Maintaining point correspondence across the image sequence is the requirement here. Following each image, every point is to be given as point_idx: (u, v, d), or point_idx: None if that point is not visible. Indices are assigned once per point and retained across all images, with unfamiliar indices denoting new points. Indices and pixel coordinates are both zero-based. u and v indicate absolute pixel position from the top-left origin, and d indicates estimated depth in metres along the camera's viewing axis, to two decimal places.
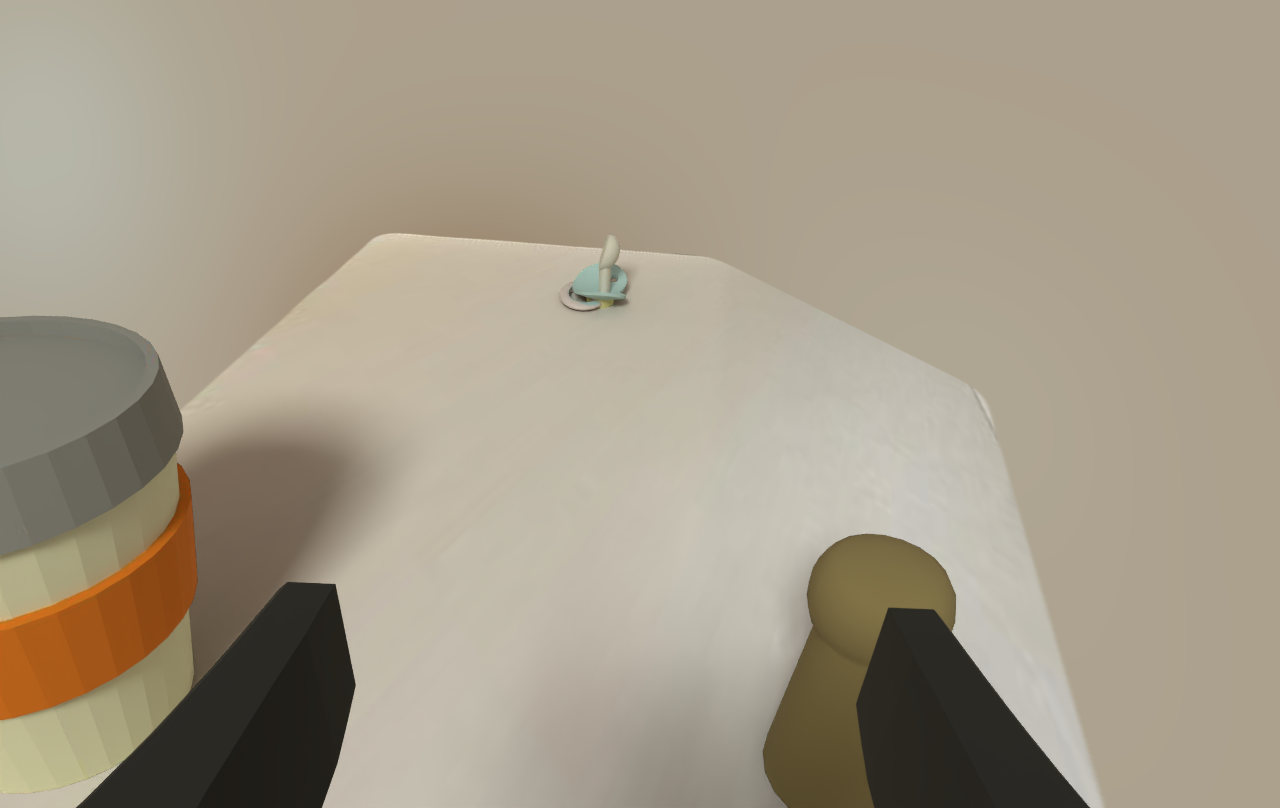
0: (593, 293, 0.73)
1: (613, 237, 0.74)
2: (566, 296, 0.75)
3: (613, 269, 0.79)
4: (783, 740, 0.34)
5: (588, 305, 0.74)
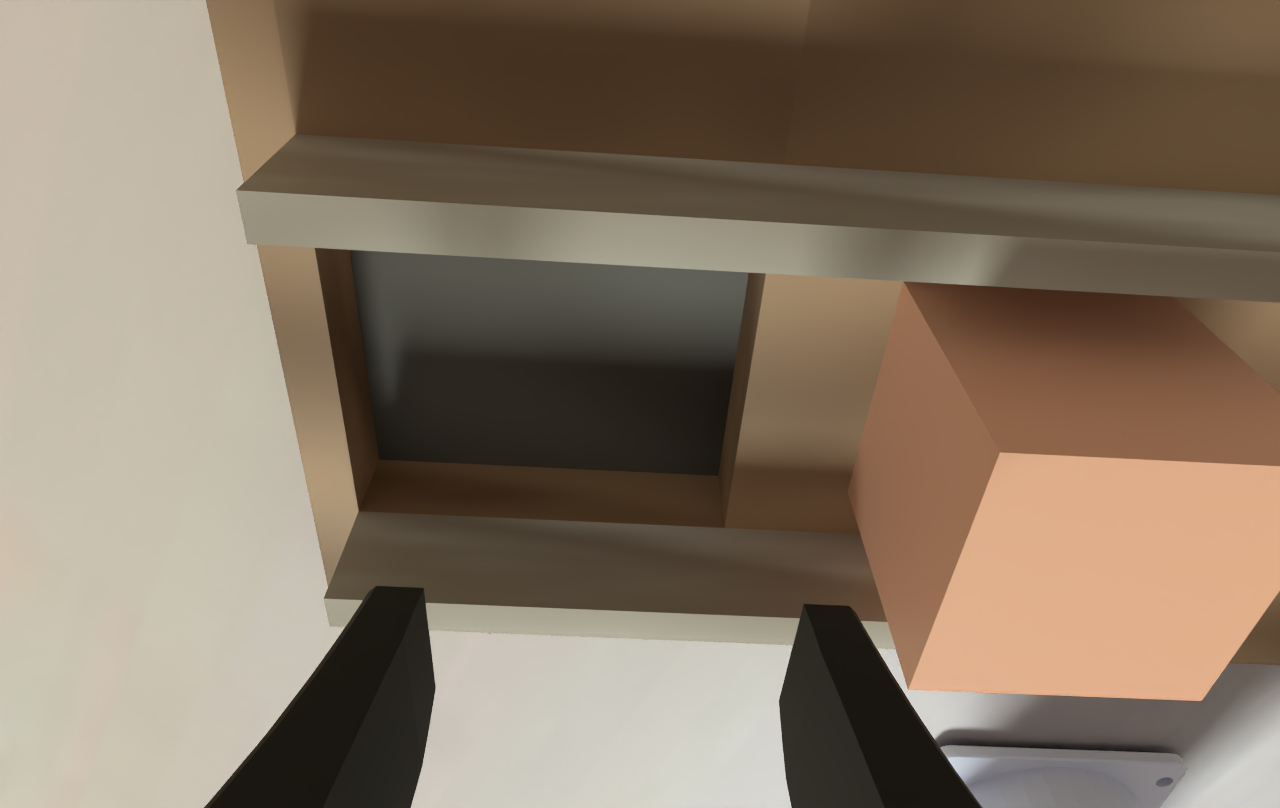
0: None
1: None
2: None
3: None
4: None
5: None
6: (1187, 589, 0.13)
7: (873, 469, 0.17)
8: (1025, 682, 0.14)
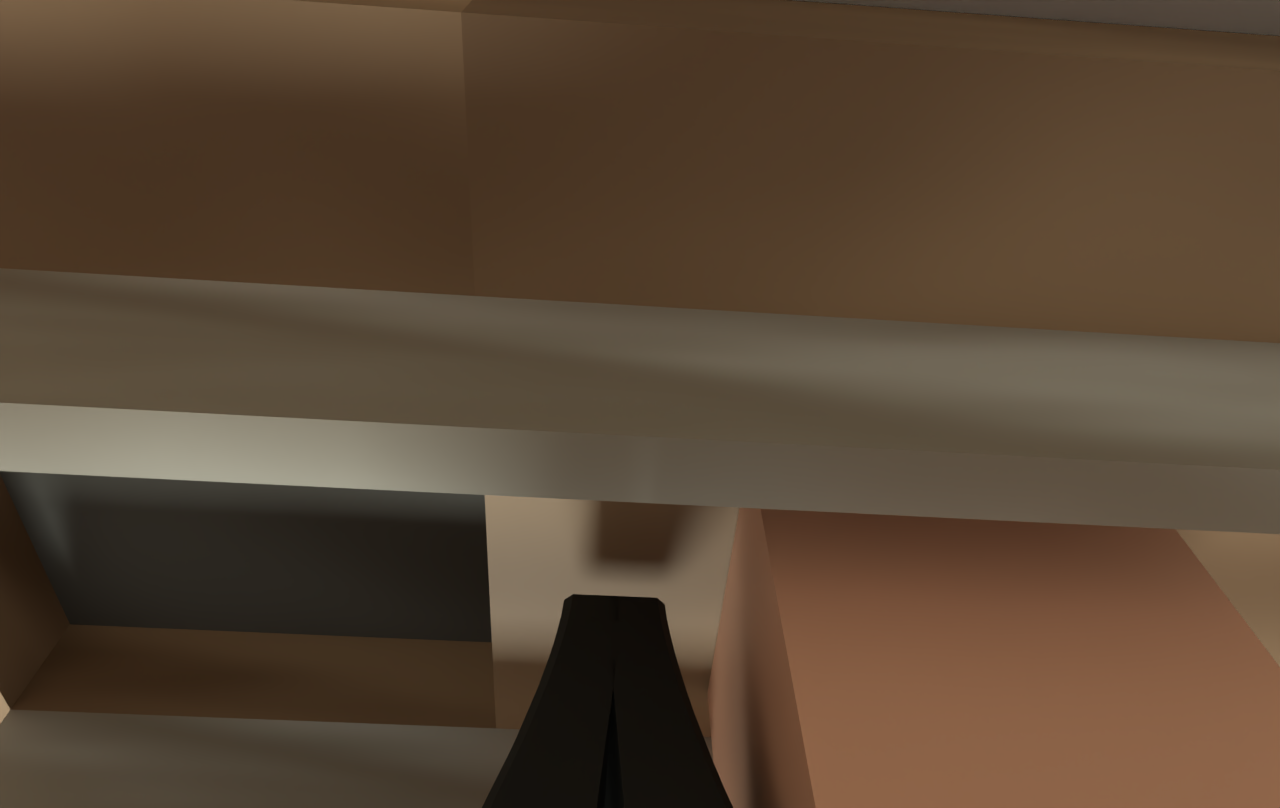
0: None
1: None
2: None
3: None
4: None
5: None
6: None
7: (723, 689, 0.12)
8: None
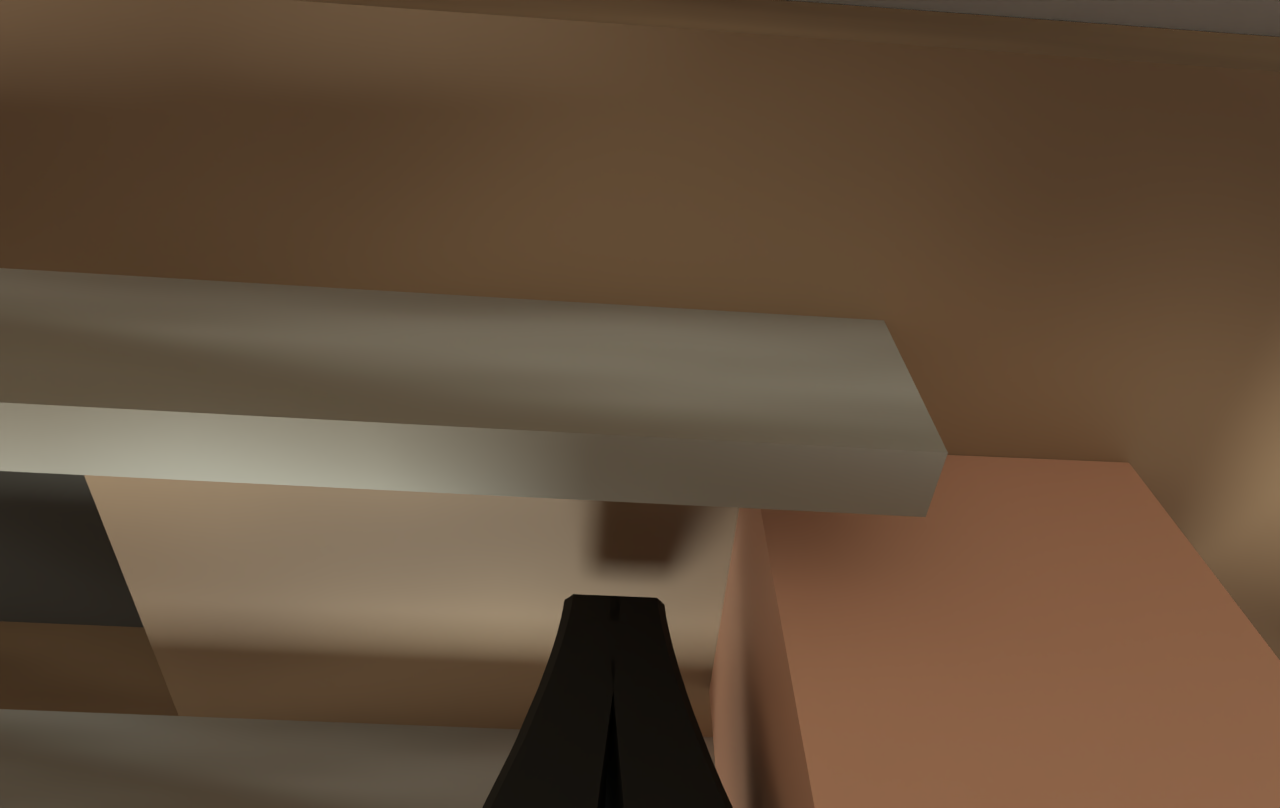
0: None
1: None
2: None
3: None
4: None
5: None
6: None
7: (724, 687, 0.12)
8: None
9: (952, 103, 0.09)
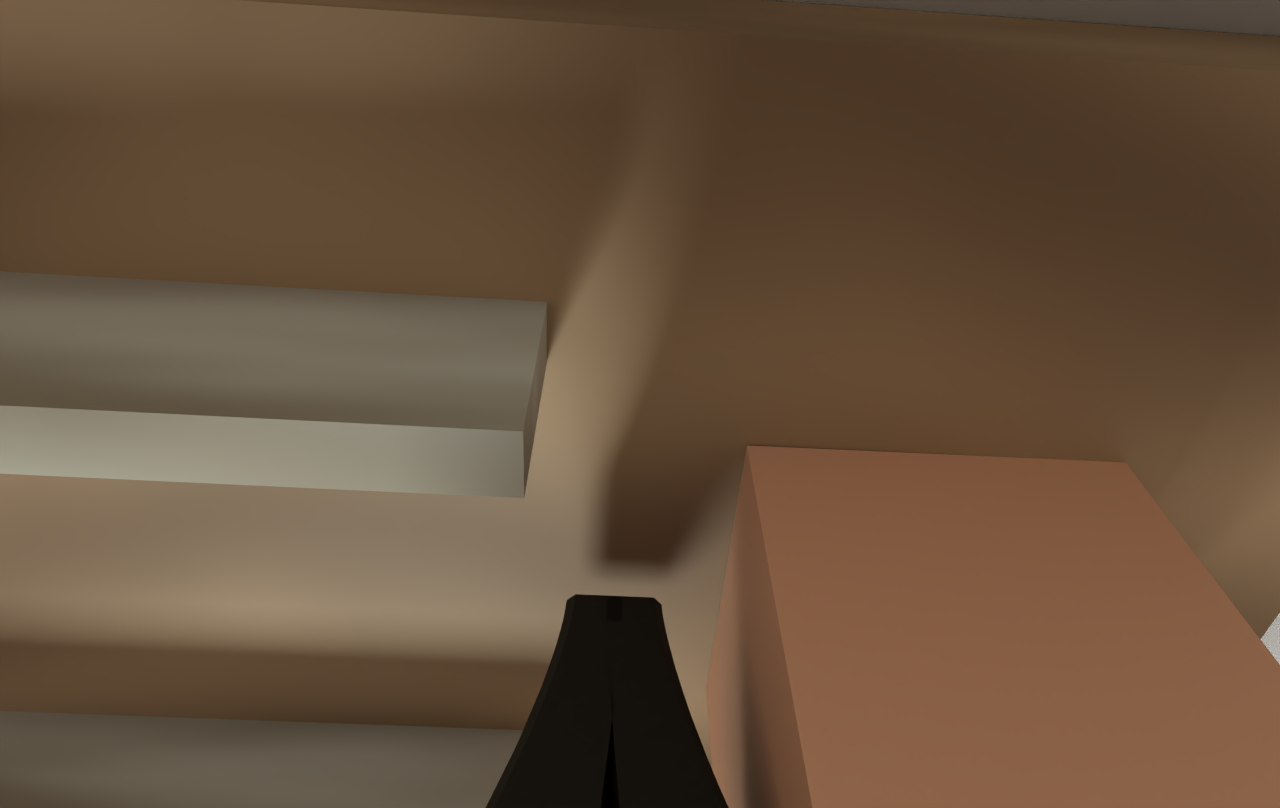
0: None
1: None
2: None
3: None
4: None
5: None
6: None
7: (721, 686, 0.12)
8: None
9: (559, 78, 0.08)
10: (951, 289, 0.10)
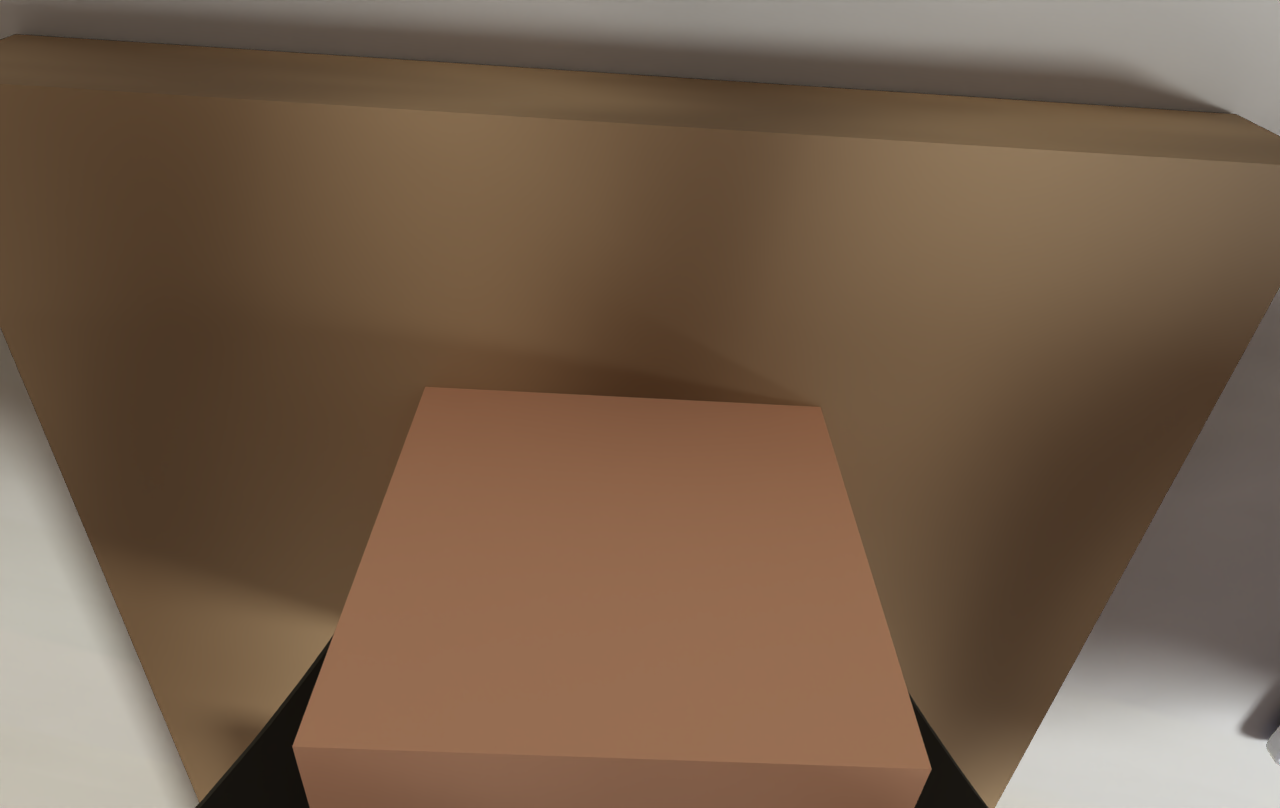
0: None
1: None
2: None
3: None
4: None
5: None
6: None
7: None
8: None
9: (199, 731, 0.15)
10: (271, 549, 0.12)
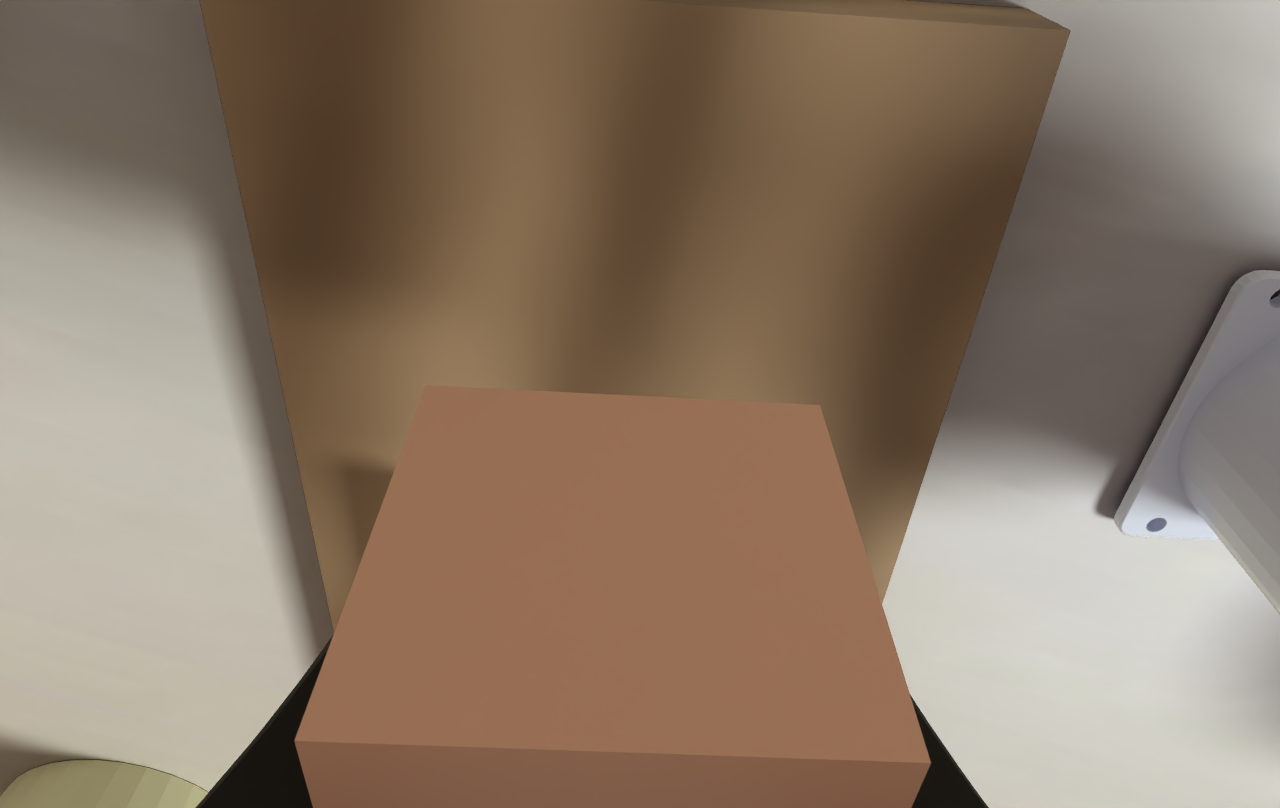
0: None
1: None
2: None
3: None
4: None
5: None
6: None
7: None
8: None
9: (321, 474, 0.20)
10: (387, 314, 0.18)
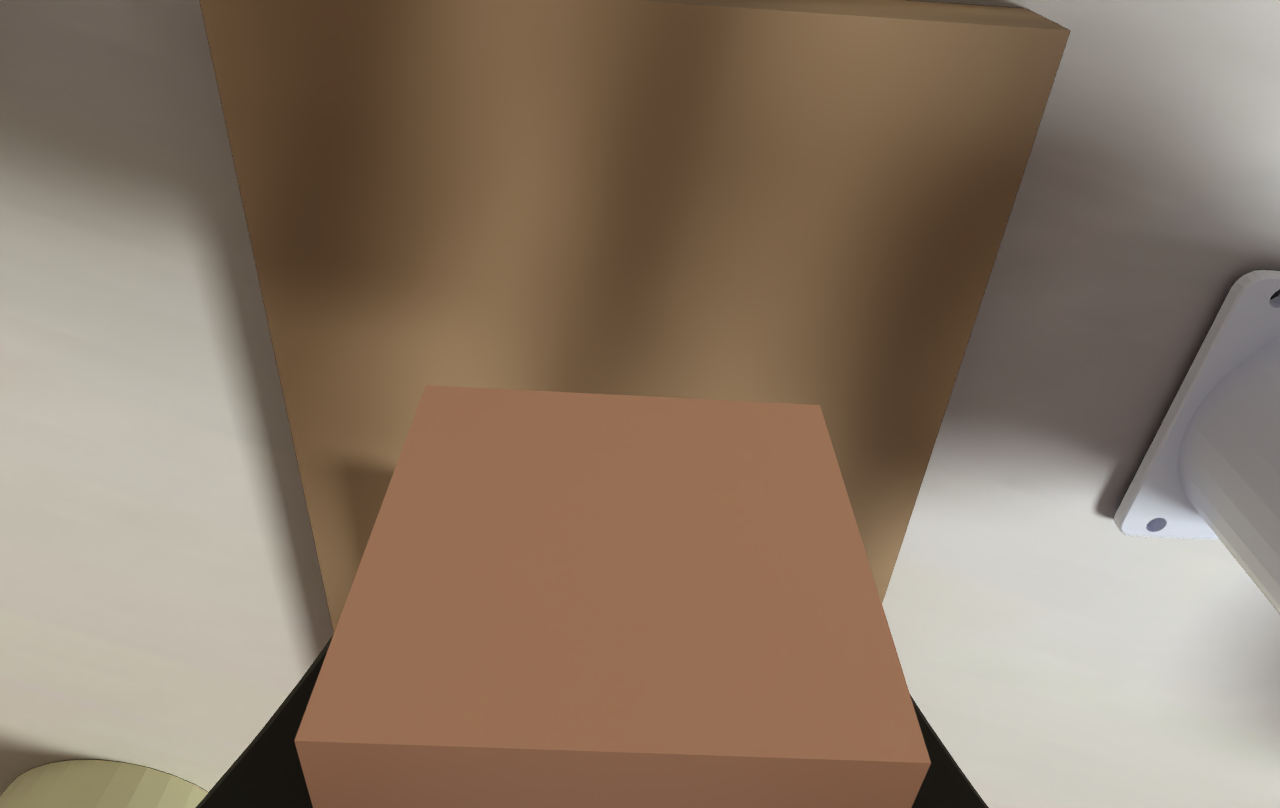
0: None
1: None
2: None
3: None
4: None
5: None
6: None
7: None
8: None
9: (321, 474, 0.20)
10: (387, 314, 0.18)
